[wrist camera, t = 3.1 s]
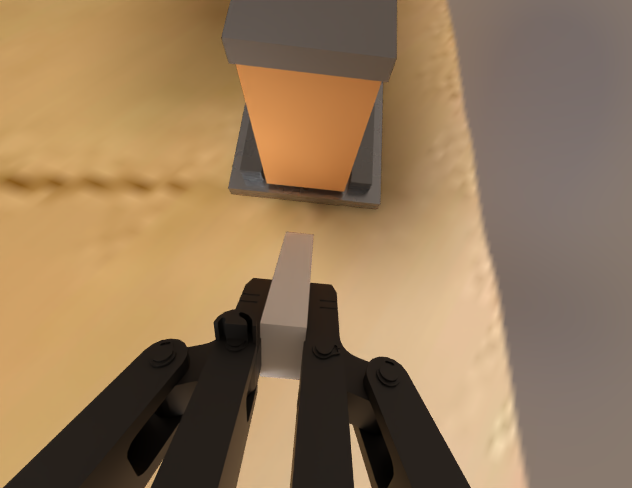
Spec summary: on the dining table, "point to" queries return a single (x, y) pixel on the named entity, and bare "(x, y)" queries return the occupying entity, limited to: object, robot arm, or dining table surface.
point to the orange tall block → (310, 81)
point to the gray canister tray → (357, 193)
